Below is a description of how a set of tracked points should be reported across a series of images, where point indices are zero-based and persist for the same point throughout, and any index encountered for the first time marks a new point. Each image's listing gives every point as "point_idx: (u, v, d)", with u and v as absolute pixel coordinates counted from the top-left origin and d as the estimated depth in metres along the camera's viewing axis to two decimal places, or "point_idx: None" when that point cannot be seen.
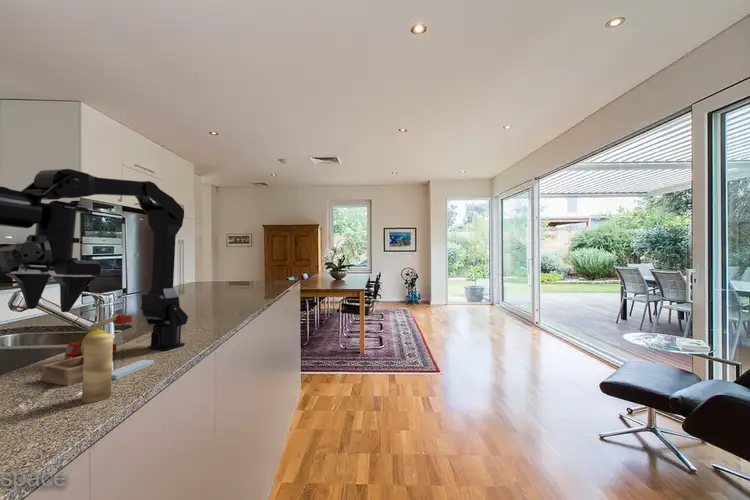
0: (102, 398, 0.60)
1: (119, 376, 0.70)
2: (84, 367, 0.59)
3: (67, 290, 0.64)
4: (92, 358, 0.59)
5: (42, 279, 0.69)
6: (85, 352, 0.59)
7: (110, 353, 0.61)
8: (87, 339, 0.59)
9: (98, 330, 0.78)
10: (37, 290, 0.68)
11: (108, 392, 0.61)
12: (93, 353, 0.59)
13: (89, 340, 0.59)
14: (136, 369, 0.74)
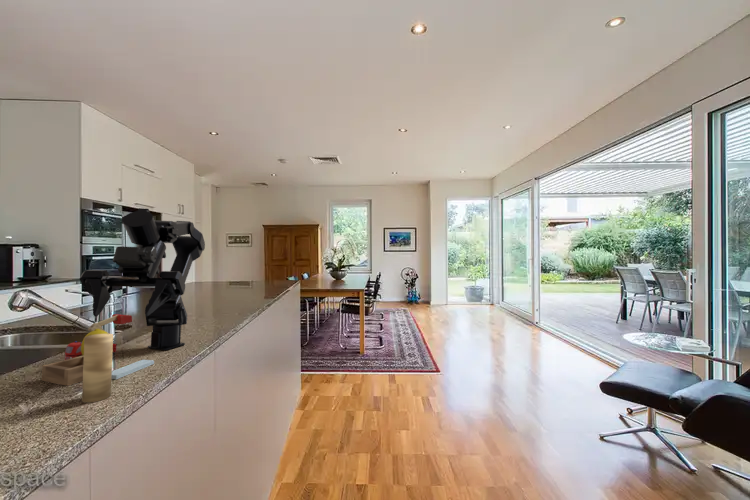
0: (102, 398, 0.60)
1: (119, 376, 0.70)
2: (84, 367, 0.59)
3: (159, 295, 0.72)
4: (92, 358, 0.59)
5: (107, 296, 0.72)
6: (85, 352, 0.59)
7: (110, 353, 0.61)
8: (87, 339, 0.59)
9: (98, 330, 0.78)
10: (103, 302, 0.70)
11: (108, 392, 0.61)
12: (93, 353, 0.59)
13: (89, 340, 0.59)
14: (136, 369, 0.74)
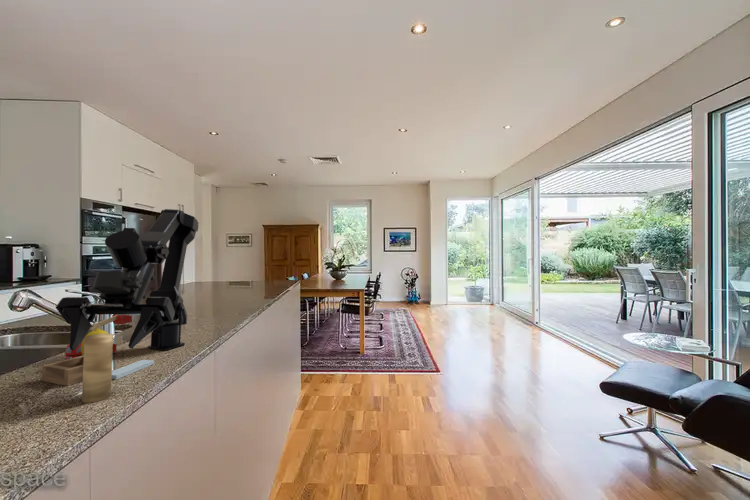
0: (102, 398, 0.60)
1: (119, 376, 0.70)
2: (84, 367, 0.59)
3: (145, 324, 0.65)
4: (92, 358, 0.59)
5: (87, 326, 0.66)
6: (85, 352, 0.59)
7: (110, 353, 0.61)
8: (87, 339, 0.59)
9: (98, 330, 0.78)
10: (82, 333, 0.63)
11: (108, 392, 0.61)
12: (93, 353, 0.59)
13: (89, 340, 0.59)
14: (136, 369, 0.74)
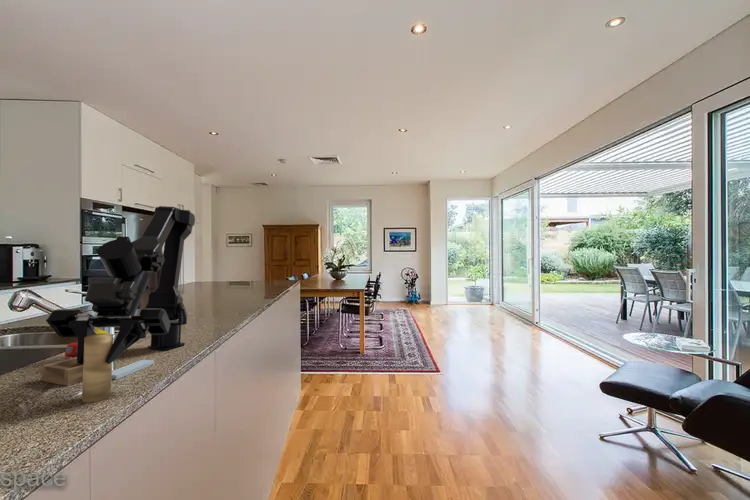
0: (102, 398, 0.60)
1: (119, 376, 0.70)
2: (84, 367, 0.59)
3: (124, 338, 0.62)
4: (91, 358, 0.59)
5: None
6: (85, 352, 0.59)
7: None
8: (87, 339, 0.59)
9: (98, 330, 0.78)
10: None
11: (108, 392, 0.61)
12: (93, 353, 0.59)
13: (89, 340, 0.59)
14: (136, 369, 0.74)
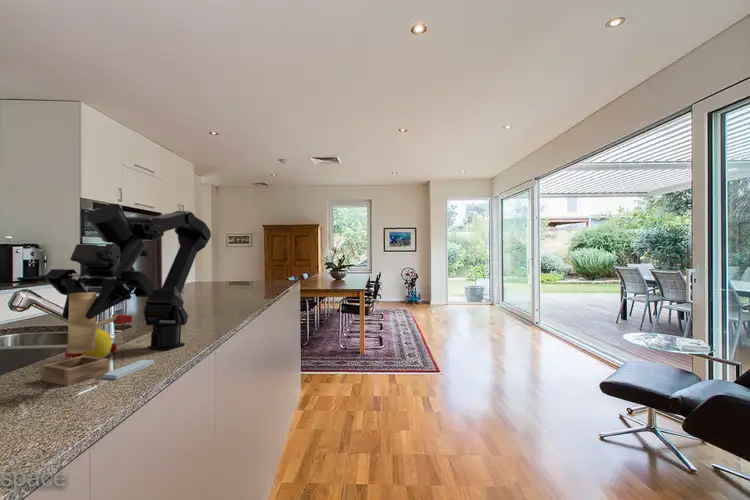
0: (83, 350, 0.64)
1: (119, 376, 0.70)
2: (68, 320, 0.64)
3: (106, 296, 0.66)
4: (73, 312, 0.63)
5: None
6: (69, 307, 0.64)
7: None
8: (70, 295, 0.63)
9: (98, 330, 0.78)
10: None
11: (90, 346, 0.65)
12: (74, 308, 0.63)
13: (71, 296, 0.63)
14: (136, 369, 0.74)
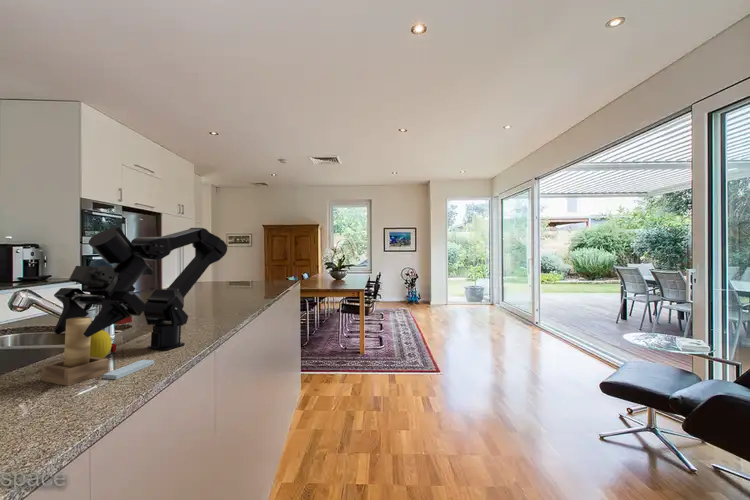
0: None
1: (119, 376, 0.70)
2: (65, 344, 0.69)
3: (104, 315, 0.70)
4: (68, 336, 0.68)
5: (81, 314, 0.75)
6: None
7: None
8: (66, 320, 0.69)
9: None
10: None
11: None
12: (69, 332, 0.68)
13: (67, 321, 0.68)
14: (136, 369, 0.74)
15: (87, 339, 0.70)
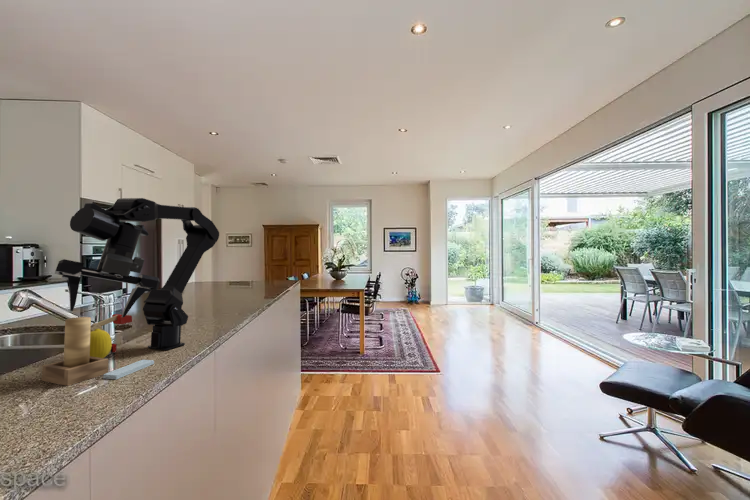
0: None
1: (119, 376, 0.70)
2: None
3: None
4: (67, 337, 0.68)
5: None
6: (65, 331, 0.69)
7: (84, 334, 0.69)
8: (65, 320, 0.69)
9: (98, 330, 0.78)
10: None
11: None
12: (68, 333, 0.68)
13: (66, 321, 0.68)
14: (136, 369, 0.74)
15: (86, 339, 0.70)
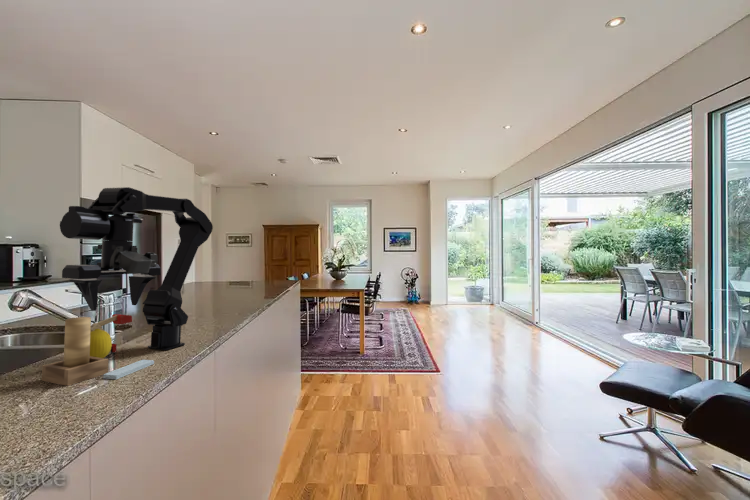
0: None
1: (119, 376, 0.70)
2: None
3: None
4: (67, 337, 0.68)
5: None
6: (65, 331, 0.69)
7: (84, 334, 0.69)
8: (65, 320, 0.69)
9: (98, 330, 0.78)
10: None
11: None
12: (68, 333, 0.68)
13: (66, 321, 0.68)
14: (136, 369, 0.74)
15: (86, 339, 0.70)
